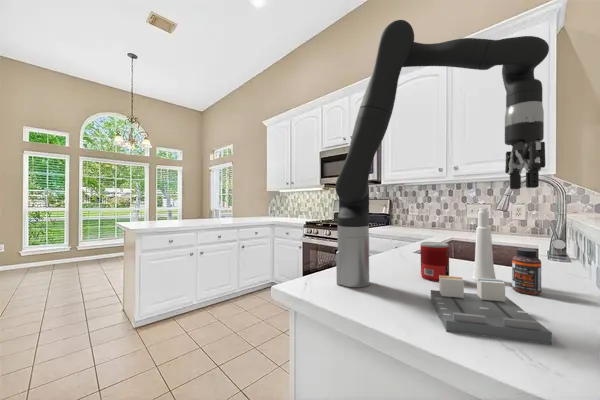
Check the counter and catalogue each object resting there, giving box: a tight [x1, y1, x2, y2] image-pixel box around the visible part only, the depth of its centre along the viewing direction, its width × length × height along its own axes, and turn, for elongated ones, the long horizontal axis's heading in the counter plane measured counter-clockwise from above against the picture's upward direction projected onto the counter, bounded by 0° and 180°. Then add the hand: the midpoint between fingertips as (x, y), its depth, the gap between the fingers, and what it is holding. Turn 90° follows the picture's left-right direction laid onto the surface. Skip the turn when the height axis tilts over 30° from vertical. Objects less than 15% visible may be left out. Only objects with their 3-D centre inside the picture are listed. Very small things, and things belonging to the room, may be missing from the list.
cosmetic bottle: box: [471, 207, 497, 282], centre depth 82 cm, size 6×6×22 cm
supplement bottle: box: [511, 247, 542, 296], centre depth 71 cm, size 6×6×11 cm
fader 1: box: [438, 275, 465, 298], centre depth 63 cm, size 5×3×4 cm, turn 72°
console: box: [430, 289, 553, 345], centre depth 56 cm, size 16×18×3 cm
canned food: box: [420, 241, 450, 283], centre depth 84 cm, size 8×8×11 cm
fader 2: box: [476, 278, 506, 302], centre depth 61 cm, size 5×3×4 cm, turn 72°
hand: (523, 188), depth 67 cm, fingers open, 8 cm apart
